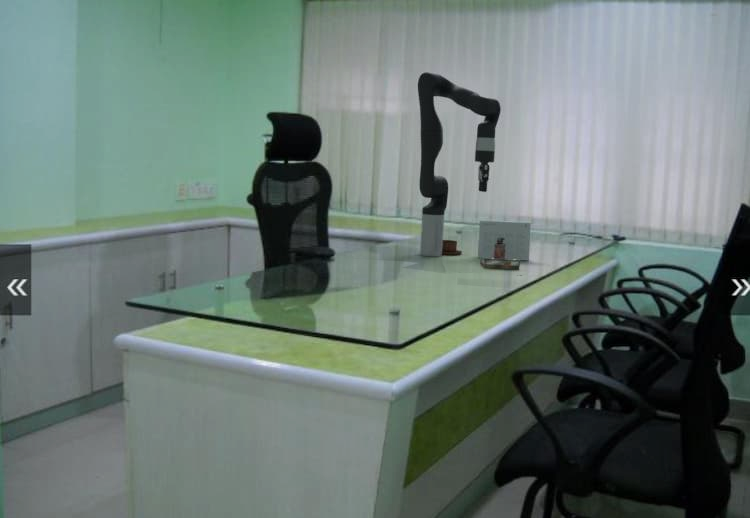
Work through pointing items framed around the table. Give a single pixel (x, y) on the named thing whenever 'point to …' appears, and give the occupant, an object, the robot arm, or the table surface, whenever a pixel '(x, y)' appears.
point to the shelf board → (500, 263)
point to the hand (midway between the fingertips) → (482, 191)
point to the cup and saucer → (450, 248)
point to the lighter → (499, 248)
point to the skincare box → (514, 239)
